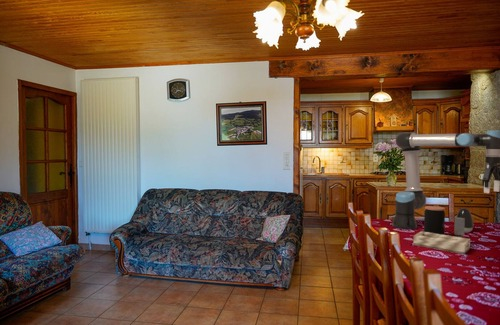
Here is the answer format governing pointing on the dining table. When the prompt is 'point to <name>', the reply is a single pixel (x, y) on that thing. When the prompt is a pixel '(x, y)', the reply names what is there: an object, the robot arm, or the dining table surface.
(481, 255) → the dining table surface
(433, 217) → the coffee jar
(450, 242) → the keyhole plate
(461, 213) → the dark grey egg shape
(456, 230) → the metal peg
